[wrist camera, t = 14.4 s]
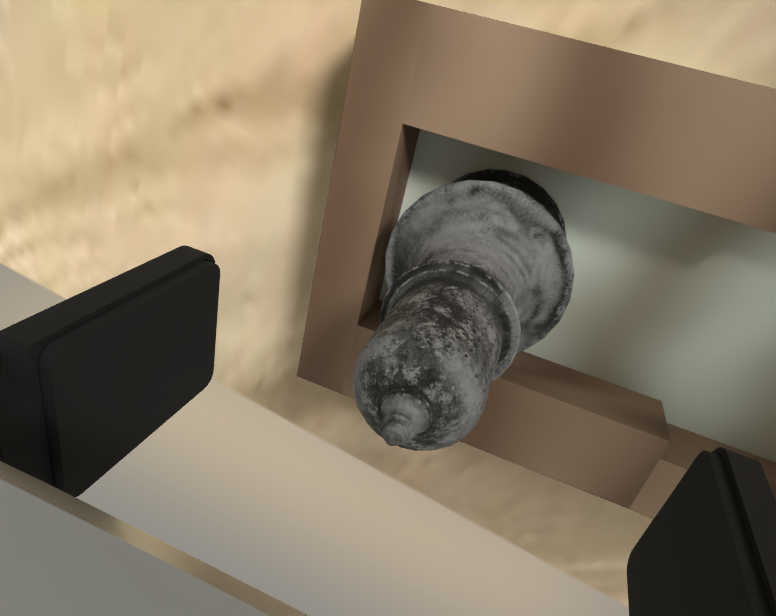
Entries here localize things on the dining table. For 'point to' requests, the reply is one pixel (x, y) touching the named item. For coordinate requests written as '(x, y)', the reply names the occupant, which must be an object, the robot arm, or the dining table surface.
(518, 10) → the dining table surface
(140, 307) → the robot arm
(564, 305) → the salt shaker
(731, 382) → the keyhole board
